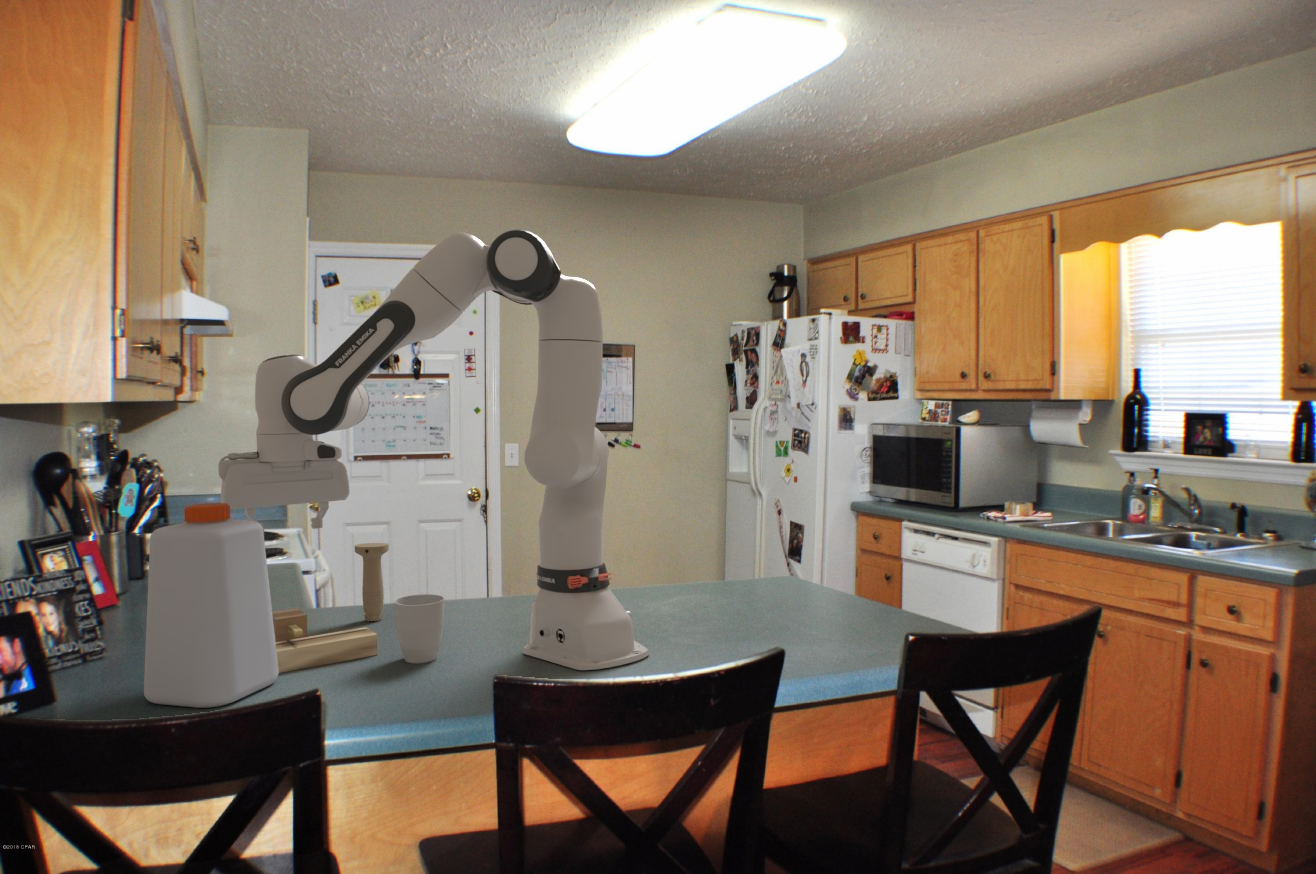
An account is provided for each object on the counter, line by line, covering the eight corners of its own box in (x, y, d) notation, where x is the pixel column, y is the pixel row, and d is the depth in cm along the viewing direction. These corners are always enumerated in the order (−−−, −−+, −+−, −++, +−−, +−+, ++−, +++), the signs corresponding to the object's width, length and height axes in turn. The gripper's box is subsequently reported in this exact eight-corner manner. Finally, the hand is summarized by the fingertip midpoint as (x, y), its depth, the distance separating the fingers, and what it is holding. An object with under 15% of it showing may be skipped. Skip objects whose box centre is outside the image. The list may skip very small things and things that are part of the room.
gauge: (315, 662, 141) (314, 620, 141) (283, 668, 139) (282, 625, 138) (299, 647, 150) (298, 608, 150) (268, 652, 147) (267, 612, 147)
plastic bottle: (291, 678, 133) (285, 500, 132) (218, 713, 118) (210, 512, 117) (210, 672, 137) (203, 498, 136) (129, 704, 122) (122, 510, 121)
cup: (427, 649, 148) (425, 592, 148) (456, 657, 143) (454, 598, 142) (385, 660, 142) (384, 600, 141) (414, 669, 137) (413, 607, 136)
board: (377, 654, 145) (377, 633, 145) (277, 673, 136) (276, 651, 135) (366, 646, 150) (366, 626, 150) (268, 664, 140) (268, 642, 140)
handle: (384, 623, 166) (382, 547, 165) (352, 623, 166) (350, 547, 166) (394, 617, 171) (392, 542, 170) (363, 617, 171) (361, 542, 171)
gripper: (221, 454, 137) (224, 539, 137) (350, 448, 149) (353, 526, 150) (214, 452, 142) (217, 535, 143) (340, 447, 154) (343, 523, 155)
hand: (288, 531), depth 146 cm, fingers open, 8 cm apart
